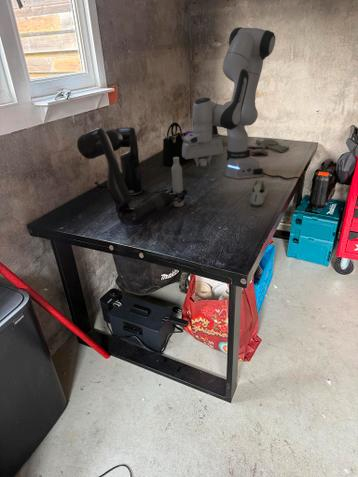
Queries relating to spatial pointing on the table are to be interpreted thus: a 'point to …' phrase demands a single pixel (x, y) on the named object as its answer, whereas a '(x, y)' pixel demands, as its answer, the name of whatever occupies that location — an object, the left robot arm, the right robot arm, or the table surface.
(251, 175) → the right robot arm
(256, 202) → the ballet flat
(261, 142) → the pair of gloves
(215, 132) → the boot
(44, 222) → the table surface
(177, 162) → the bottle
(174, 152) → the handbag
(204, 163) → the cap
